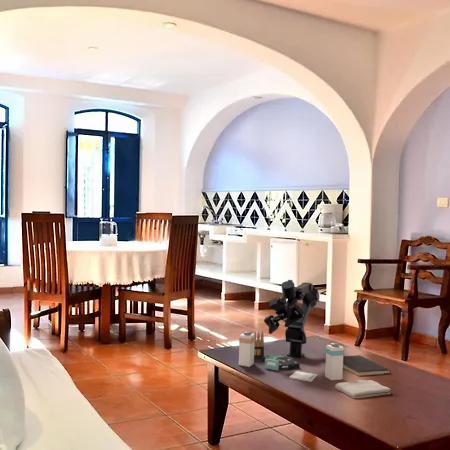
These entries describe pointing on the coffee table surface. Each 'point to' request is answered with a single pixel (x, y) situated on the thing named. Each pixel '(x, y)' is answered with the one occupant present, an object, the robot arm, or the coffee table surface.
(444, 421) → the coffee table surface
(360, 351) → the coffee table surface
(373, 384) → the washcloth
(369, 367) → the hardcover book
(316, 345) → the coffee table surface
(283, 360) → the disk drive
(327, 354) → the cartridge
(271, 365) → the teal cartridge with label
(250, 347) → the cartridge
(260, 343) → the ammunition clip
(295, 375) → the mat
